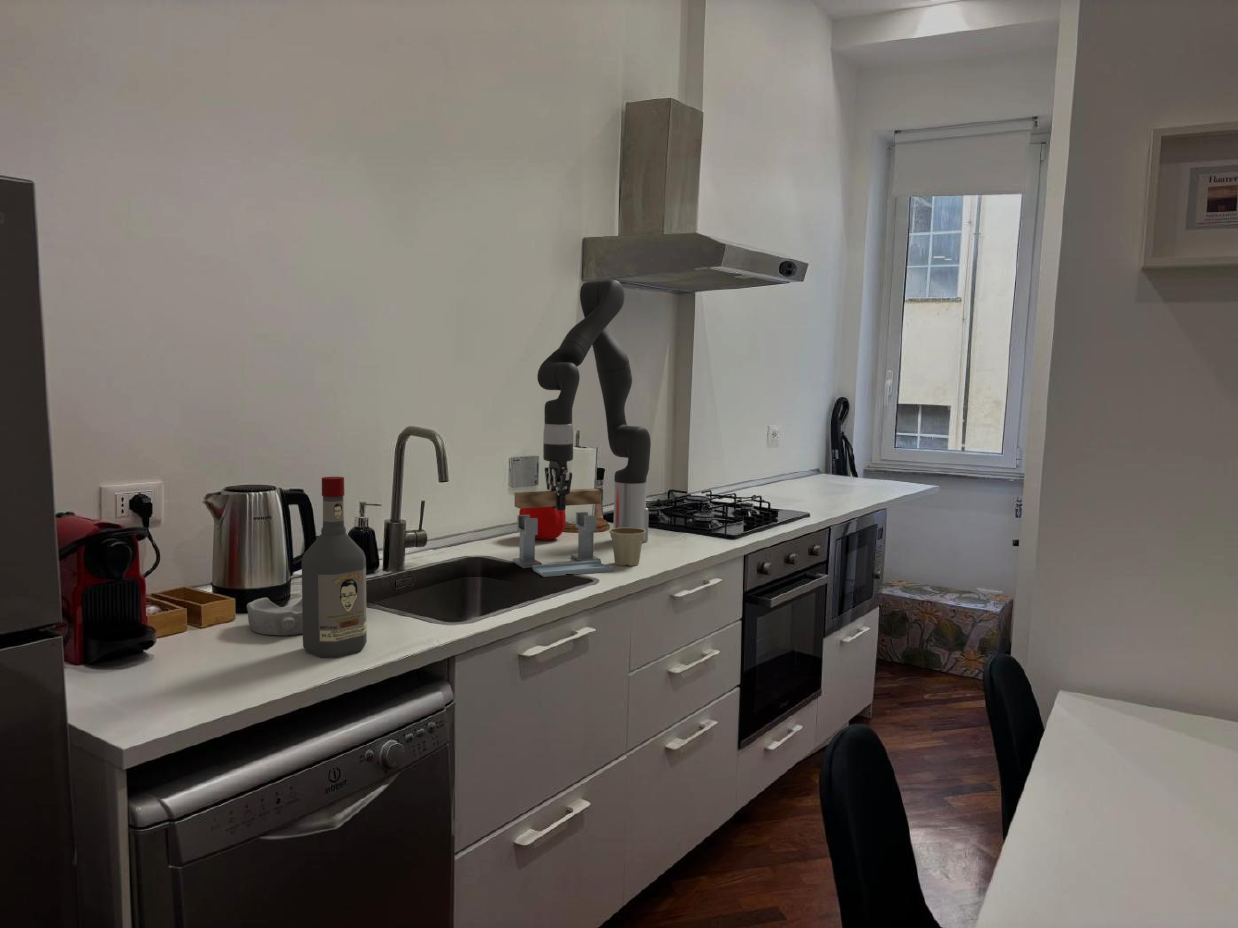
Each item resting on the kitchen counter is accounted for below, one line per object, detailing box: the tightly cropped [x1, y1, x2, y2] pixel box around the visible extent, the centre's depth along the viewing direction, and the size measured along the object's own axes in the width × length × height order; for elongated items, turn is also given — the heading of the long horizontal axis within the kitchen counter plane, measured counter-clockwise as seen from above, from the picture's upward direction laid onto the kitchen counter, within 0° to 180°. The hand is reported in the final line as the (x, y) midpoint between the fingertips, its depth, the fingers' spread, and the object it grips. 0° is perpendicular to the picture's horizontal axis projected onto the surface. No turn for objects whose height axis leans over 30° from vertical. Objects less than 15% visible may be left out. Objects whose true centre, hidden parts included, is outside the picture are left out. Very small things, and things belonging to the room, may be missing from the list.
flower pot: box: [608, 527, 646, 567], centre depth 234 cm, size 9×9×9 cm
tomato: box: [518, 507, 567, 541], centre depth 266 cm, size 16×14×14 cm
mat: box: [532, 559, 614, 578], centre depth 225 cm, size 18×8×1 cm, turn 115°
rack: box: [512, 511, 602, 569], centre depth 234 cm, size 21×8×12 cm, turn 115°
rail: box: [514, 488, 602, 509], centre depth 233 cm, size 22×4×4 cm, turn 115°
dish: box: [246, 597, 303, 636], centre depth 172 cm, size 14×14×5 cm
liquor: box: [301, 476, 368, 659], centre depth 158 cm, size 9×9×30 cm
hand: (557, 508), depth 233 cm, fingers closed on rail, 3 cm apart
